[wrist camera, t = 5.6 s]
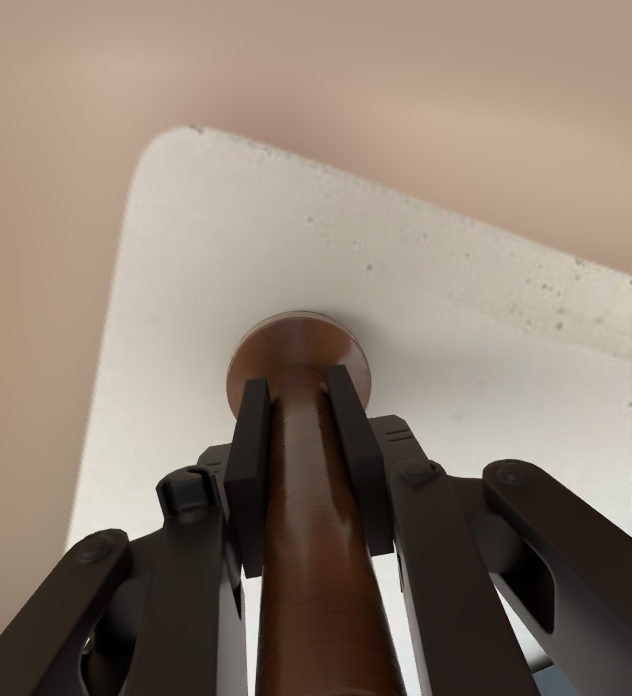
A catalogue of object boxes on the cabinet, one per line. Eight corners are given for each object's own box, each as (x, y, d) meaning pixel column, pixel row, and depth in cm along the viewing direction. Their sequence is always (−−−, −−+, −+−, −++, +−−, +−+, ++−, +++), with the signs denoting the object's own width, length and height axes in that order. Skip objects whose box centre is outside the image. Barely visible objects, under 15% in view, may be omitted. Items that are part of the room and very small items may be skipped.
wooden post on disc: (357, 300, 19) (564, 526, 5) (373, 428, 20) (557, 854, 7) (216, 323, 18) (28, 620, 5) (244, 449, 20) (163, 932, 7)
